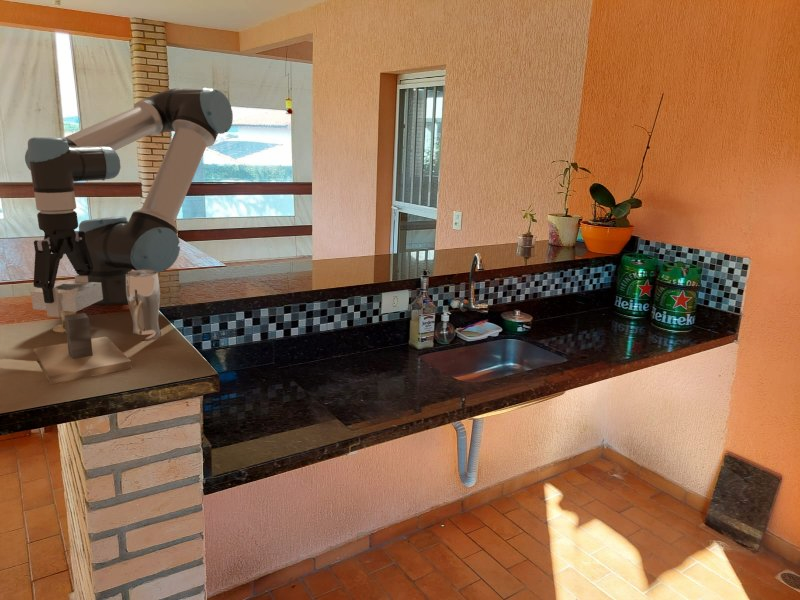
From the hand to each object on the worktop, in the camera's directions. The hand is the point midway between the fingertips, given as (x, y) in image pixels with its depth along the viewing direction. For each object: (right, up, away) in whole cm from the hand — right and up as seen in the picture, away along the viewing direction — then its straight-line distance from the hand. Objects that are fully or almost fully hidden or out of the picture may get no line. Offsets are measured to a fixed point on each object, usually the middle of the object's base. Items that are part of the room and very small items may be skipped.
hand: (69, 309), depth 134 cm
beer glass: (+17, -6, +1) cm, 18 cm away
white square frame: (0, +1, 0) cm, 1 cm away
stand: (0, -6, +1) cm, 6 cm away
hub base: (+11, -10, -15) cm, 21 cm away
